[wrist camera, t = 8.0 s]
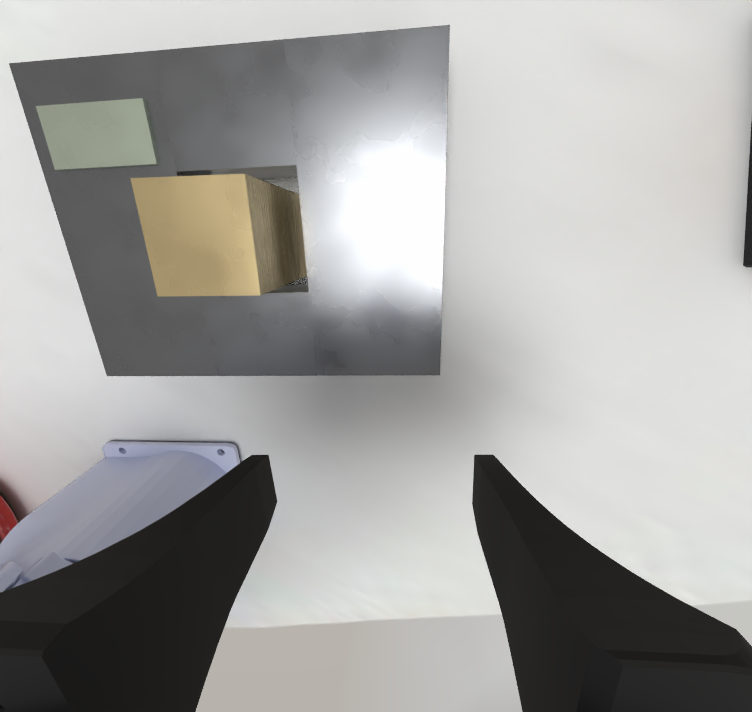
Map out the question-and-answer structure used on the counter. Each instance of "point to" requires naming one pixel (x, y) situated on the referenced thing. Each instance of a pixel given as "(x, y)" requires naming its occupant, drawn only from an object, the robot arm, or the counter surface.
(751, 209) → the ammunition clip
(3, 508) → the plant pot
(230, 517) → the robot arm
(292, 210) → the brass peg
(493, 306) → the counter surface
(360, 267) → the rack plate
